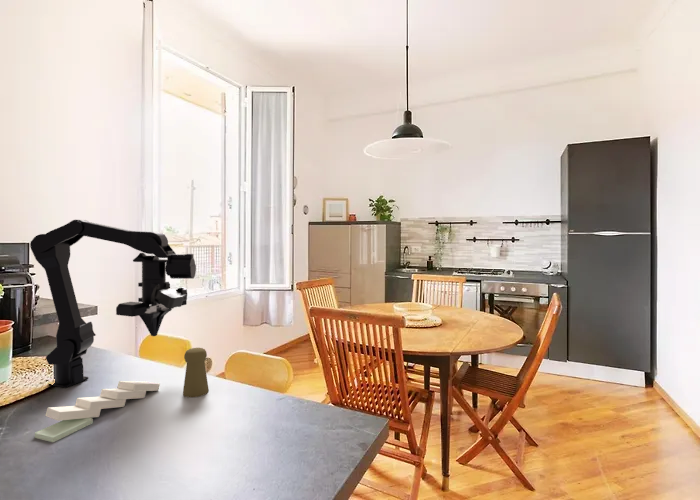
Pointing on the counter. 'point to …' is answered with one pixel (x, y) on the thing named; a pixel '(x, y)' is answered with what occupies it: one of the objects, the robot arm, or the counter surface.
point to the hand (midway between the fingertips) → (154, 335)
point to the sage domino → (62, 429)
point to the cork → (195, 373)
